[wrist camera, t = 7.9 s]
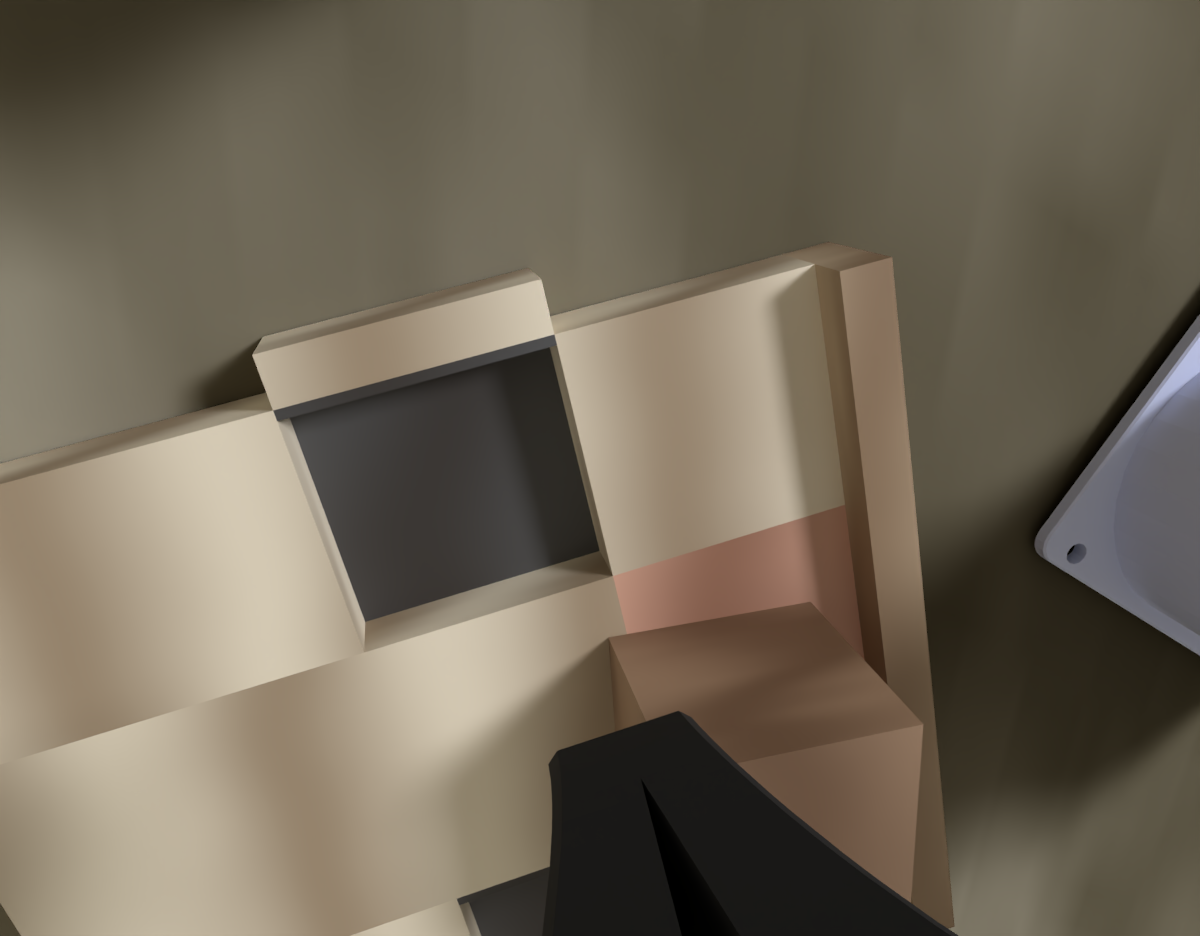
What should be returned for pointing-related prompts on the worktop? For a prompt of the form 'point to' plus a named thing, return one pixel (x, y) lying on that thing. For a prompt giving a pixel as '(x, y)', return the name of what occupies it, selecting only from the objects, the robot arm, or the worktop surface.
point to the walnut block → (790, 722)
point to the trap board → (432, 594)
